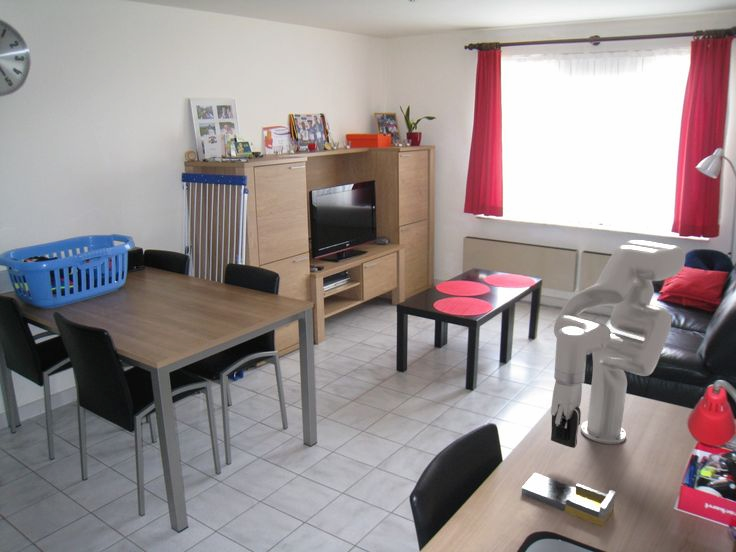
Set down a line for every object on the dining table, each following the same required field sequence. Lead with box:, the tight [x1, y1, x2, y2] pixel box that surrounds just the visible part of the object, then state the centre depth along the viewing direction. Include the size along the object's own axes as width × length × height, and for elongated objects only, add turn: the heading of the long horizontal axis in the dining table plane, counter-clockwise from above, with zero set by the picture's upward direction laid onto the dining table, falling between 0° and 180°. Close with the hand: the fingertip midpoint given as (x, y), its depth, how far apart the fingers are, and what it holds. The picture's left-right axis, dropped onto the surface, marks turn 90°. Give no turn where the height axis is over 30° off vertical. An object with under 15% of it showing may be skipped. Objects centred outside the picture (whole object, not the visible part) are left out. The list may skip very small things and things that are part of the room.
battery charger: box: [550, 406, 582, 449], centre depth 160 cm, size 7×4×11 cm, turn 51°
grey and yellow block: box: [521, 472, 616, 528], centre depth 147 cm, size 8×20×5 cm, turn 52°
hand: (565, 434), depth 161 cm, fingers closed on battery charger, 3 cm apart
